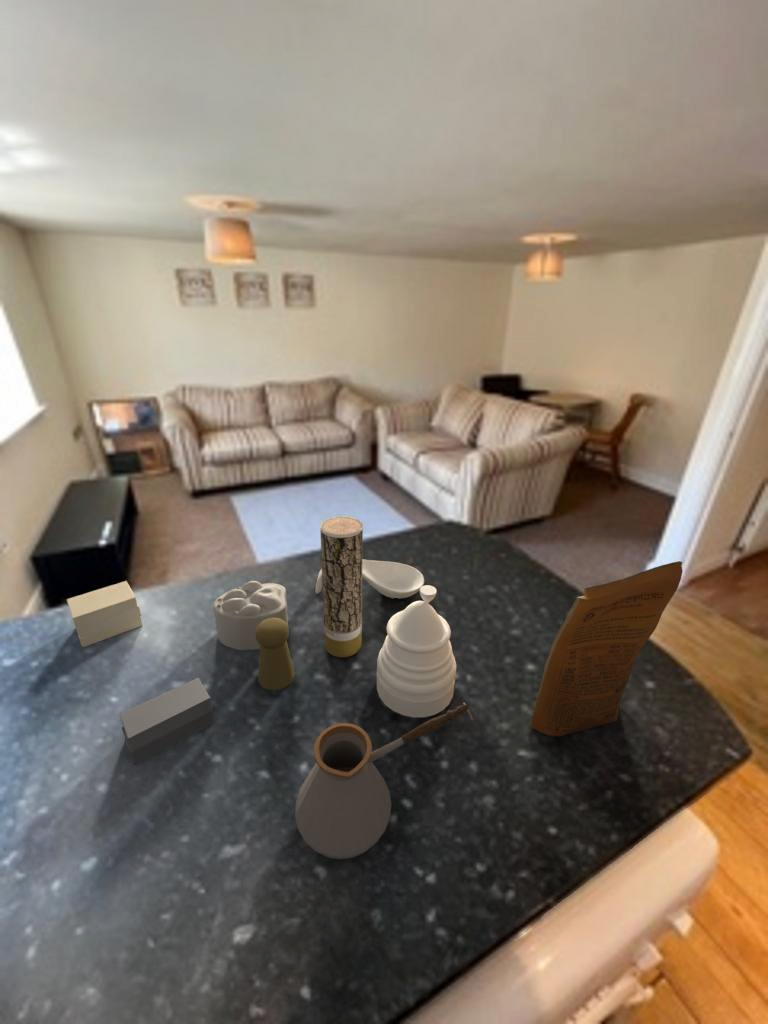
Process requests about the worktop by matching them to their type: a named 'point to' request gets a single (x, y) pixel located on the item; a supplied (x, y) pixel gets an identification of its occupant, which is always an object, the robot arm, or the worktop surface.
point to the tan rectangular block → (109, 626)
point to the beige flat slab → (101, 603)
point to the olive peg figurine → (274, 654)
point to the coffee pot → (350, 789)
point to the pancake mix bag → (600, 650)
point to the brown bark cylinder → (342, 584)
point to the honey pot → (417, 660)
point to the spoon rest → (388, 578)
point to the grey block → (166, 719)
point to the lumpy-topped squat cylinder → (248, 613)
